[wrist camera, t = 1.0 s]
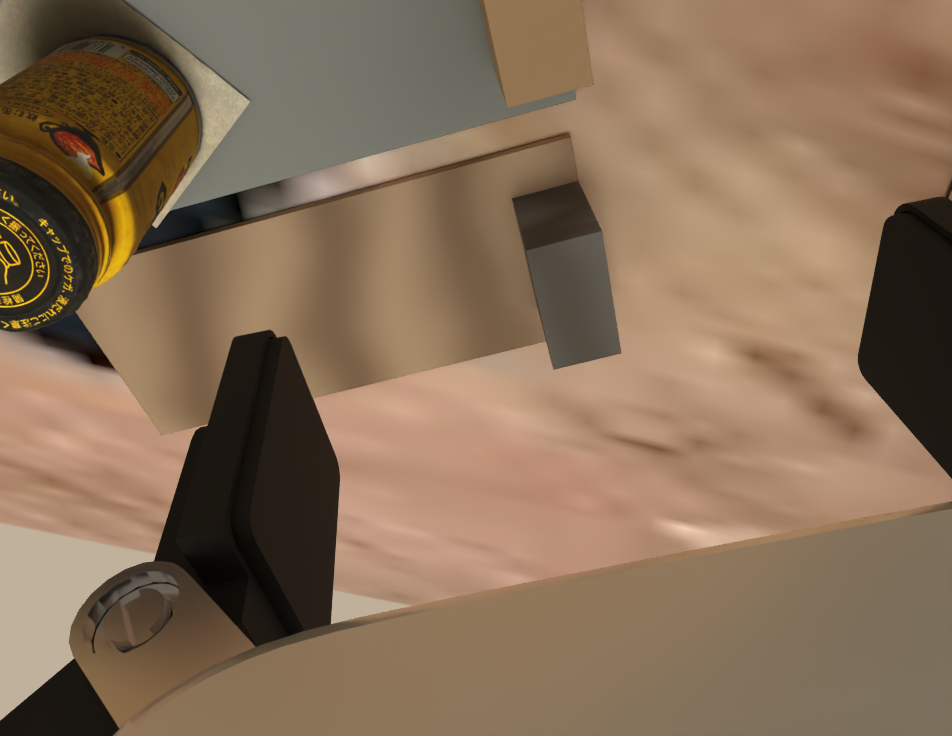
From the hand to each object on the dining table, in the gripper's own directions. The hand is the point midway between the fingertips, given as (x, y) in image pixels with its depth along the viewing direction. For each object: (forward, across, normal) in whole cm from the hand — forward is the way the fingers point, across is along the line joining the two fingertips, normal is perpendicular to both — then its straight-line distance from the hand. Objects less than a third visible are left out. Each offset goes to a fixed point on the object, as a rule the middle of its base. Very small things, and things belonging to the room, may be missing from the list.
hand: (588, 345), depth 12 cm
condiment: (+22, +14, 0) cm, 26 cm away
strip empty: (+21, +8, +11) cm, 25 cm away
